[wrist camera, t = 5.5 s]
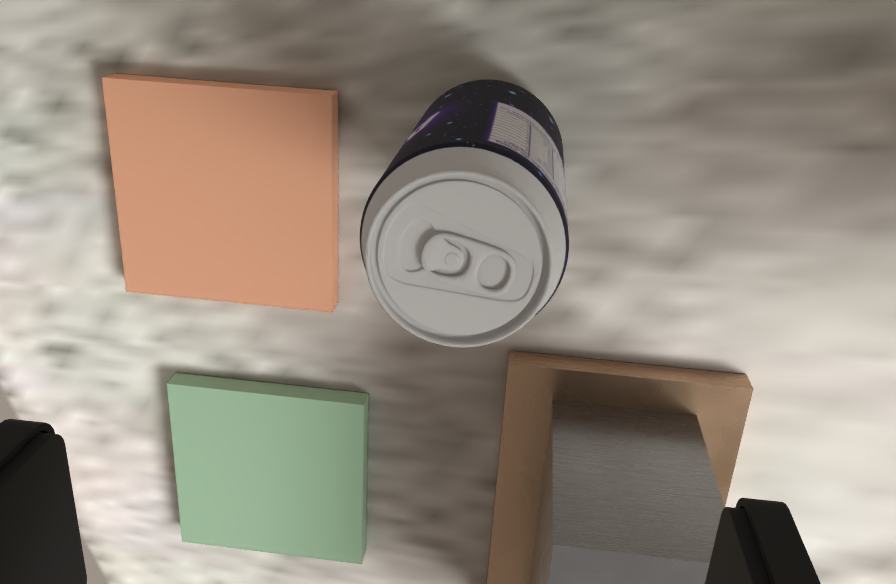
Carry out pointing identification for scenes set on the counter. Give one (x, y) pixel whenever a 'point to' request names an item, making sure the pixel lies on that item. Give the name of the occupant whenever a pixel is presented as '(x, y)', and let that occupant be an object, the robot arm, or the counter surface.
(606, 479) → the mounted unit
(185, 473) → the sage mat
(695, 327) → the counter surface
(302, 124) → the terracotta mat
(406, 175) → the beverage can
